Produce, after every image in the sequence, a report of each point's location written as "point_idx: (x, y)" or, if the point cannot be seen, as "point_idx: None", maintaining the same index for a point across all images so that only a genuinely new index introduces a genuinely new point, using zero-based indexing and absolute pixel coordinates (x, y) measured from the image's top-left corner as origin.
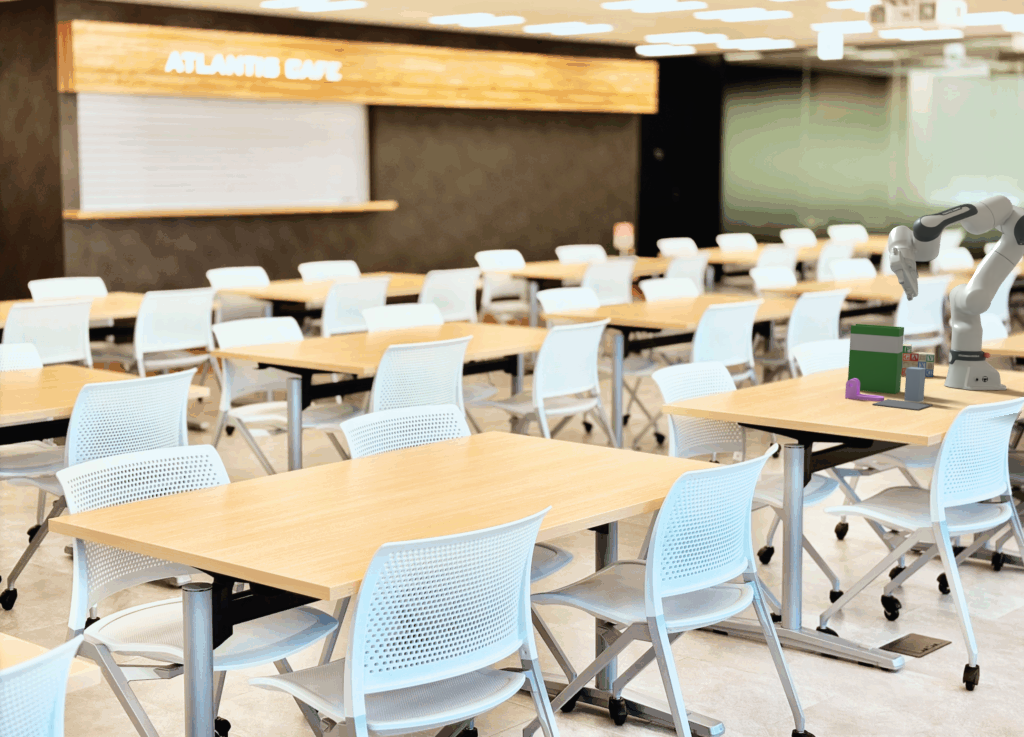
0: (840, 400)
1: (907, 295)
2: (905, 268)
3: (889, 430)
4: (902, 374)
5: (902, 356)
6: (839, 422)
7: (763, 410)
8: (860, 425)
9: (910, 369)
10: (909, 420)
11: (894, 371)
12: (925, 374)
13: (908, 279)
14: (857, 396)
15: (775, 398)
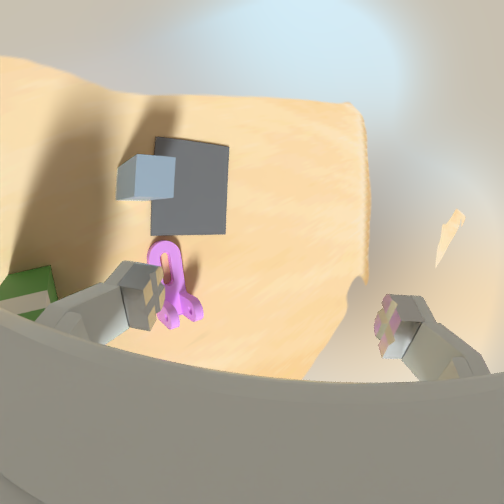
0: (215, 301)
1: (152, 317)
2: (480, 435)
3: (359, 152)
4: None
5: None
6: (353, 211)
7: (338, 313)
8: (355, 186)
9: (172, 185)
10: (307, 141)
11: (50, 283)
12: None
13: (293, 380)
14: (185, 288)
15: (263, 369)
